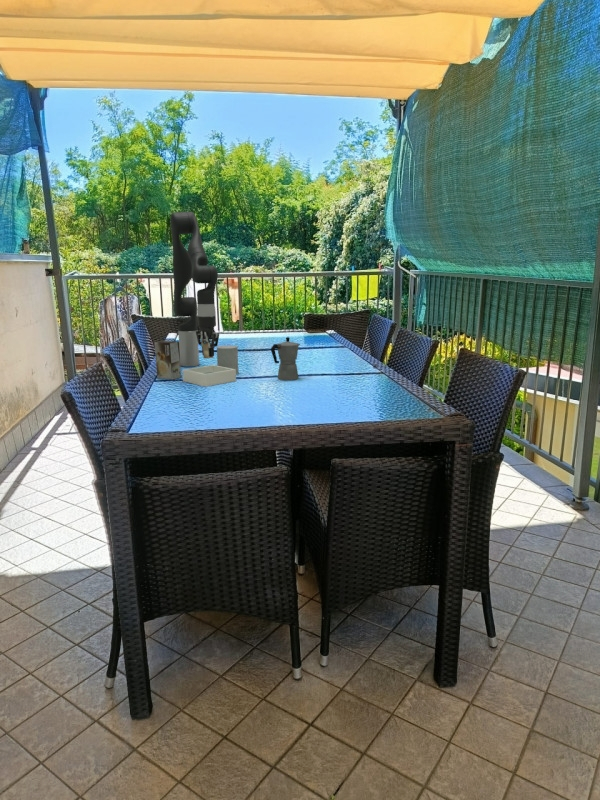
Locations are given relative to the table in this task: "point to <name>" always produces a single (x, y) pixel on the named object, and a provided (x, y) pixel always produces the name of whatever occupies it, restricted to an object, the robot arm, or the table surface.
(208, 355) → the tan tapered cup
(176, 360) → the coffee box
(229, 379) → the box
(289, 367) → the coffeepot
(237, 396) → the table surface
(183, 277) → the robot arm
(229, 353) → the gray cylinder
